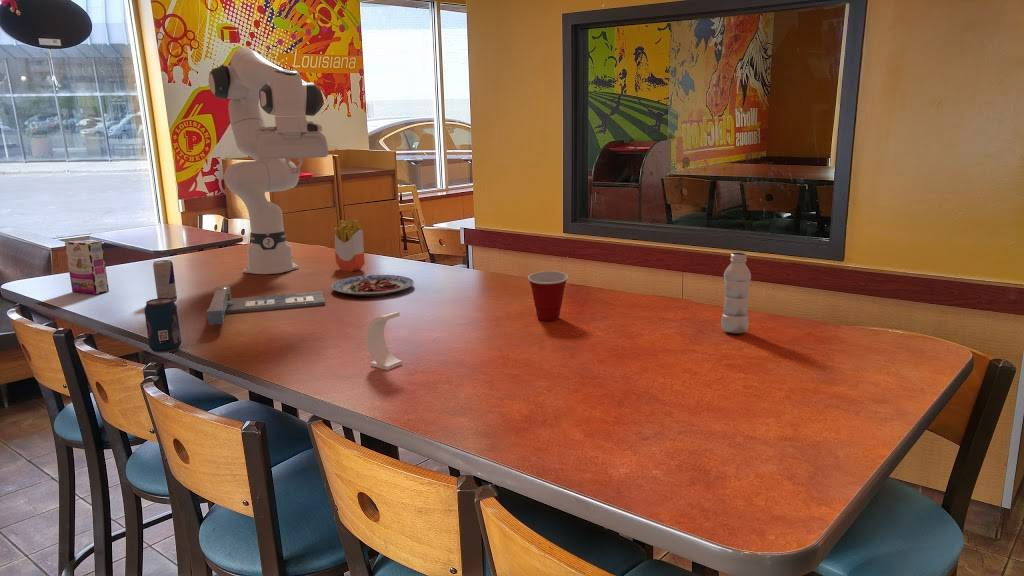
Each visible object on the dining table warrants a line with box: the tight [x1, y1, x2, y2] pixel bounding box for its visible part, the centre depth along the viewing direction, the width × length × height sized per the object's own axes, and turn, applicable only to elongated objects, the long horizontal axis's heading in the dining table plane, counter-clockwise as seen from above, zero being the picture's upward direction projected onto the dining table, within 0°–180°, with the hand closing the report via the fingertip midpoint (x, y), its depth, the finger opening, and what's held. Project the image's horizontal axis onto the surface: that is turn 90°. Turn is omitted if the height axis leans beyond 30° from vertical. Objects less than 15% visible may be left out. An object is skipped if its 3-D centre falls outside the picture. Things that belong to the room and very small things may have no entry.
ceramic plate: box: [331, 274, 415, 297], centre depth 229 cm, size 26×26×3 cm
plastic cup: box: [527, 270, 569, 322], centre depth 193 cm, size 11×11×12 cm
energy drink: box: [152, 259, 178, 302], centre depth 217 cm, size 5×5×12 cm
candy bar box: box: [64, 239, 110, 295], centre depth 229 cm, size 11×5×16 cm, turn 68°
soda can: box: [143, 298, 182, 354], centre depth 171 cm, size 7×7×12 cm
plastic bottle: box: [720, 251, 752, 335], centre depth 177 cm, size 6×7×20 cm
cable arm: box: [206, 285, 232, 326], centre depth 197 cm, size 4×29×4 cm, turn 17°
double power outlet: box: [225, 290, 326, 315], centre depth 212 cm, size 14×30×2 cm, turn 108°
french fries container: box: [333, 218, 365, 273], centre depth 257 cm, size 5×11×18 cm, turn 52°
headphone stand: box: [365, 311, 403, 371], centre depth 158 cm, size 5×6×12 cm
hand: (295, 173), depth 216 cm, fingers closed
